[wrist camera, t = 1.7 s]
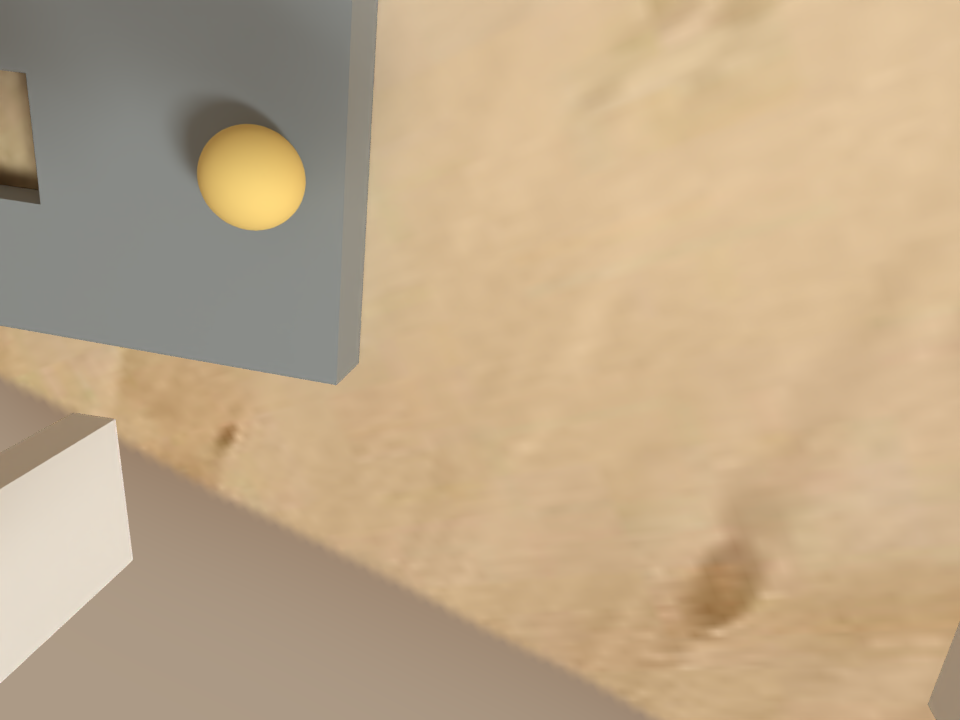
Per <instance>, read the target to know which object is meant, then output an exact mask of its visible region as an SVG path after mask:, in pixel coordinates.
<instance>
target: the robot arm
mask: <svg viewBox="0 0 960 720" xmlns="http://www.w3.org/2000/svg"><path fill="white" fill-rule="evenodd" d="M132 560H133V556H132V548H131V541H130V533H129V525H128V516H127V508H126V500H125V492H124V484H123V476H122V468H121V460H120V452H119V444H118V436H117V428H116V420H115V419H112V418H105V417H99V416H92V415H85V414H79V413H72V414H70V415H68V416H66V417H64V418H63V419H61V420H59V421H58V422H55V423H53V424H52V425H50V426H48V427H46V428H44V429H43V430H41V431H39V432H37V433H35V434H33V435H32V436H30V437H28V438H26V439H25V440H23V441H21V442H19V443H17V444H15V445H13V446H12V447H10V448H8V449H6V450H4V451H2V452H1V453H0V683H1V682H2V681H3V680H4V679H5V678H6V677H8V676H9V675H10V674H11V673H12V672H13V671H14V670H15V669H16V668H17V667H18V666H19V665H21V664H22V663H23V662H24V661H25V660H26V659H27V658H28V657H29V656H30V655H31V654H32V653H33V652H35V651H36V650H37V649H38V648H39V647H40V646H41V645H42V644H43V643H44V642H45V641H46V640H47V639H49V638H50V637H51V636H52V635H53V634H54V633H55V632H56V631H57V630H58V629H59V628H60V627H61V626H63V625H64V624H65V623H66V622H67V621H68V620H69V619H70V618H71V617H72V616H73V615H74V614H75V613H77V612H78V610H80V609H81V608H82V607H83V606H84V605H85V604H86V603H87V602H88V601H89V600H90V599H91V598H93V597H94V596H95V595H96V594H97V593H98V592H99V591H100V590H101V589H102V588H103V587H104V586H105V585H107V584H108V583H109V582H110V581H111V580H112V579H113V578H114V577H115V576H116V575H117V574H118V573H120V571H122V570H123V569H124V568H125V567H126V566H127V565H128V564H129V563H130V562H131V561H132ZM928 706H929V708H930V710H931V711H932V713H933V715H934V717H935V719H936V720H960V623H959V625H958V628H957V630H956V633H955V636H954V638H953V641H952V643H951V646H950V648H949V651H948V654H947V656H946V659H945V661H944V664H943V666H942V669H941V672H940V674H939V677H938V679H937V682H936V684H935V687H934V690H933V692H932V695H931V697H930V700H929V702H928Z"/></svg>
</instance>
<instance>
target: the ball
mask: <svg viewBox="0 0 960 720" xmlns="http://www.w3.org/2000/svg"><path fill="white" fill-rule="evenodd" d="M197 180H198V185H199V189H200V192H201V194H202V196H203V199H204V200H205V202H206V204H207V205H208V206H209V208H210V209H211V210H212V211H213V212H214V213H215V214H216V215H217V216H218V217H219V218H221V219H222V220H223V221H225V222H226V223H228V224H230V225H232V226H235V227H238V228H241V229H245V230H254V231H258V230H266V229H271V228H274V227H276V226H278V225H280V224H282V223H284V222H285V221H287V220H288V219H289V218H290V217H291V216H292V215H293V214H294V213H295V212H296V210H297V209H298V208H299V206H300V204H301V202H302V199H303V196H304V192H305V186H306V177H305V170H304V167H303V163H302V161H301V158H300V157H299V155H298V153H297V151H296V150H295V148H294V147H293V146H292V145H291V144H290V143H289V141H287V140H286V139H285V138H284V137H283V136H282V135H280V134H279V133H277V132H275V131H273V130H271V129H269V128H267V127H264V126H260V125H255V124H239V125H234V126H230V127H228V128H225V129H223V130H221V131H220V132H218V133H217V134H215V135H214V136H213V137H212V138H211V139H210V140H209V141H208V142H207V144H206V145H205V147H204V148H203V150H202V152H201V155H200V157H199V161H198V166H197Z"/></svg>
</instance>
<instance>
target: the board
mask: <svg viewBox="0 0 960 720" xmlns="http://www.w3.org/2000/svg"><path fill="white" fill-rule="evenodd" d="M377 7H378V0H0V70H5V71H13V72H21V73H26V79H27V88H28V97H29V106H30V115H31V123H32V132H33V141H34V150H35V159H36V168H37V176H38V185H39V190H34V189H27V188H20V187H13V186H7V185H0V326H6V327H11V328H17V329H23V330H28V331H34V332H40V333H45V334H51V335H57V336H62V337H68V338H74V339H79V340H85V341H90V342H96V343H102V344H107V345H113V346H119V347H124V348H130V349H136V350H141V351H147V352H153V353H158V354H164V355H170V356H175V357H181V358H186V359H192V360H198V361H203V362H209V363H215V364H220V365H226V366H232V367H237V368H243V369H249V370H254V371H260V372H265V373H271V374H277V375H282V376H288V377H294V378H299V379H305V380H311V381H316V382H322V383H328V384H333V385H337V384H338V383H339V382H340V381H341V380H342V379H343V378H344V377H345V376H346V375H347V374H348V373H349V372H350V371H351V370H352V369H353V368H354V367H355V366H356V365H357V364H358V363H359V347H360V328H361V309H362V290H363V271H364V253H365V234H366V215H367V196H368V177H369V158H370V139H371V120H372V102H373V83H374V64H375V45H376V26H377ZM239 124H255V125H260V126H264V127H267V128H269V129H271V130H273V131H275V132H277V133H279V134H280V135H282V136H283V137H284V138H285V139H286V140H287V141H289V143H290V144H291V145H292V146H293V147H294V148H295V150H296V151H297V153H298V155H299V157H300V158H301V161H302V163H303V167H304V170H305V177H306V186H305V192H304V196H303V199H302V202H301V204H300V206H299V208H298V209H297V210H296V212H295V213H294V214H293V215H292V216H291V217H290V218H289V219H288V220H287V221H285V222H284V223H282V224H280V225H278V226H276V227H274V228H271V229H266V230H258V231H254V230H245V229H241V228H238V227H235V226H232V225H230V224H228V223H226V222H225V221H223V220H222V219H221V218H219V217H218V216H217V215H216V214H215V213H214V212H213V211H212V210H211V209H210V208H209V206H208V205H207V204H206V202H205V200H204V199H203V196H202V194H201V192H200V189H199V185H198V180H197V166H198V161H199V157H200V155H201V152H202V150H203V148H204V147H205V145H206V144H207V142H208V141H209V140H210V139H211V138H212V137H213V136H214V135H215V134H217V133H218V132H220V131H221V130H223V129H225V128H228V127H230V126H234V125H239Z"/></svg>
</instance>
